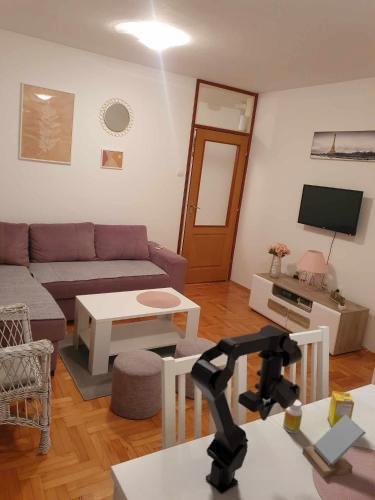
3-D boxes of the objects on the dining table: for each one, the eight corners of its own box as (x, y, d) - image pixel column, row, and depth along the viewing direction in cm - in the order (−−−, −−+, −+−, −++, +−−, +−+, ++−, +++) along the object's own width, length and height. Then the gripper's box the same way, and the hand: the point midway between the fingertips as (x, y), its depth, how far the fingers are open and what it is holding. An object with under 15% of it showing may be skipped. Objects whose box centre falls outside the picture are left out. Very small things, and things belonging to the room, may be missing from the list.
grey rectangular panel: (329, 465, 112) (364, 431, 114) (312, 445, 120) (345, 414, 121) (331, 467, 113) (366, 433, 114) (314, 447, 120) (346, 416, 121)
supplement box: (343, 420, 139) (349, 392, 137) (349, 431, 133) (354, 402, 131) (326, 418, 139) (332, 390, 137) (331, 429, 134) (336, 400, 131)
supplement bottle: (295, 435, 128) (300, 409, 126) (280, 428, 131) (284, 402, 129) (301, 428, 132) (306, 402, 130) (286, 421, 136) (291, 395, 134)
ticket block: (322, 477, 111) (323, 471, 111) (302, 453, 120) (303, 447, 120) (351, 472, 114) (352, 466, 114) (329, 448, 124) (330, 443, 123)
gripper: (273, 393, 98) (264, 448, 101) (314, 374, 110) (305, 423, 114) (240, 374, 107) (233, 425, 110) (282, 357, 119) (274, 404, 122)
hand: (263, 419), depth 113 cm, fingers closed
